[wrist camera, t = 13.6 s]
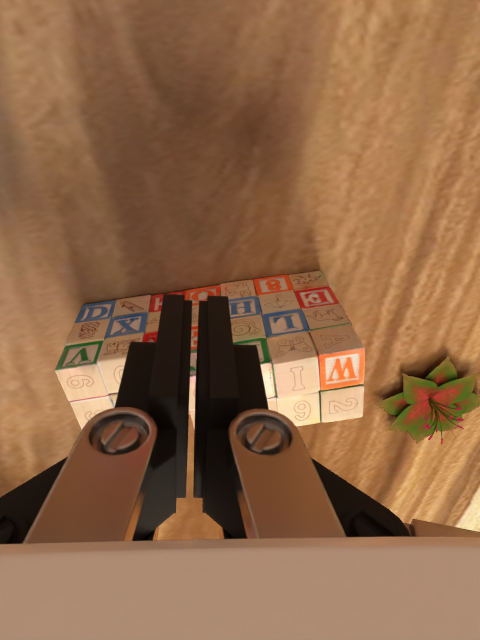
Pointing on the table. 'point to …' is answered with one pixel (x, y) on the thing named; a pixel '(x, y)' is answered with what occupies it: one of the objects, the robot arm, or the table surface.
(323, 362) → the stack of blocks
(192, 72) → the table surface
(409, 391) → the lily flower
